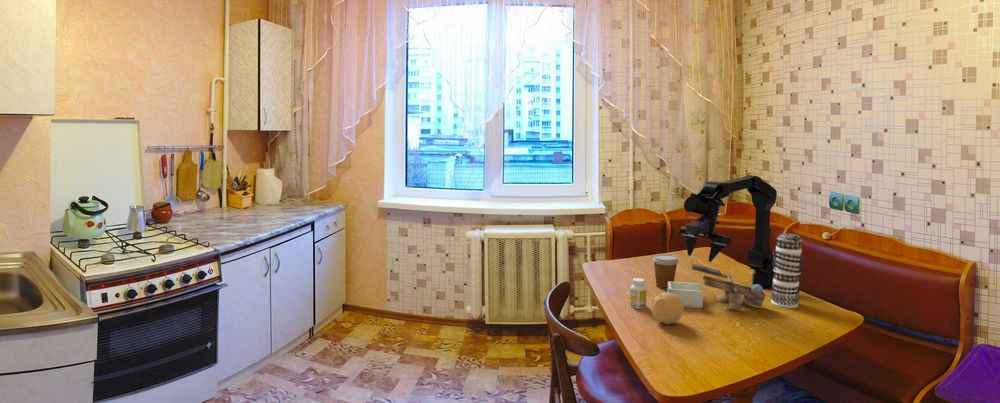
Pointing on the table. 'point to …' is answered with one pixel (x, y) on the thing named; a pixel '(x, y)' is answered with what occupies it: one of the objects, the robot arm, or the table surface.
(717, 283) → the lever
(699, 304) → the white storage tray
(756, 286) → the ball
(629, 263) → the table surface
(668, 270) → the disposable coffee cup
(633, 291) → the supplement bottle
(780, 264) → the decorative candle
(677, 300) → the stress ball
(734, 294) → the fulcrum stand
